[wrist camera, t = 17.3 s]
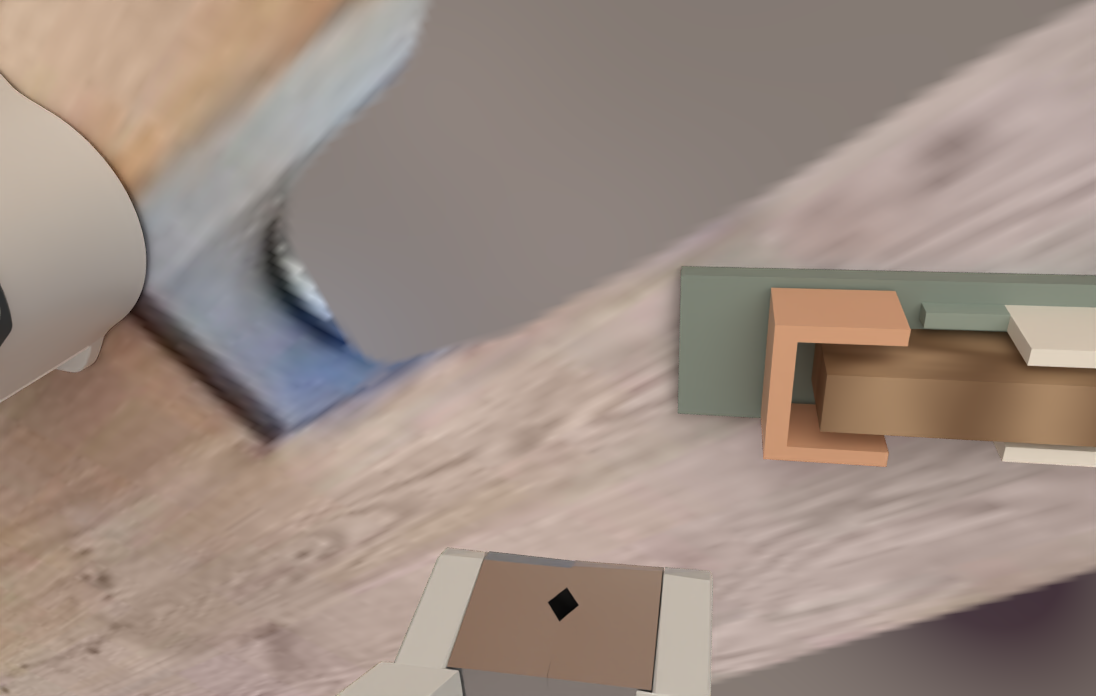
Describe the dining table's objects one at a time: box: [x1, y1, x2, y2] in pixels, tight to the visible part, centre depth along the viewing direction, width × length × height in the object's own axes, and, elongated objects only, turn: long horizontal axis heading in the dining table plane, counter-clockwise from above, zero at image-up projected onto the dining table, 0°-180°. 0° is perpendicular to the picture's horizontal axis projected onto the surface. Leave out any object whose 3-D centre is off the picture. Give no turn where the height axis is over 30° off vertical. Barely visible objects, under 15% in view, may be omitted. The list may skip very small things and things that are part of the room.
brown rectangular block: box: [811, 329, 1096, 447], centre depth 38 cm, size 12×3×4 cm, turn 93°
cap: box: [761, 288, 911, 467], centre depth 39 cm, size 6×7×4 cm
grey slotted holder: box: [678, 266, 1096, 467], centre depth 39 cm, size 20×8×5 cm, turn 93°
